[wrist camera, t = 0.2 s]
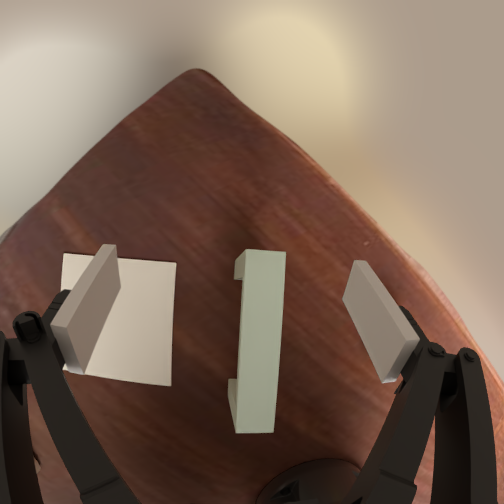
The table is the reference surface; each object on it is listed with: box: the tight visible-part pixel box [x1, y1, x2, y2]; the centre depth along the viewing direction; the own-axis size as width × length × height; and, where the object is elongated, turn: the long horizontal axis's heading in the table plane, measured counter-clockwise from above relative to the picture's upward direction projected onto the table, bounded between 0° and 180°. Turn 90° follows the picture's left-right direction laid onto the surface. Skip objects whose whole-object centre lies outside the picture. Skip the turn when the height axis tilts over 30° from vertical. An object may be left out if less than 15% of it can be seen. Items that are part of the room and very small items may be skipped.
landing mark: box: [61, 253, 176, 386], centre depth 29 cm, size 13×13×1 cm
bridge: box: [228, 249, 286, 433], centre depth 27 cm, size 3×14×9 cm, turn 177°
